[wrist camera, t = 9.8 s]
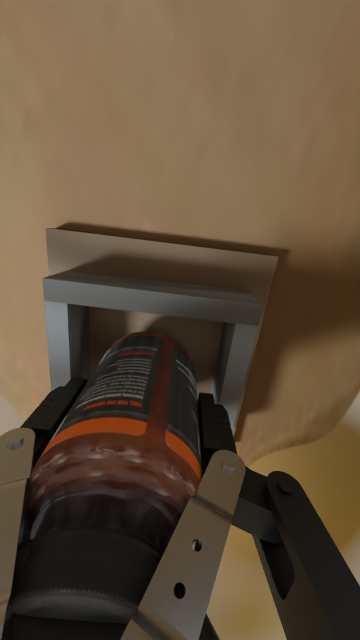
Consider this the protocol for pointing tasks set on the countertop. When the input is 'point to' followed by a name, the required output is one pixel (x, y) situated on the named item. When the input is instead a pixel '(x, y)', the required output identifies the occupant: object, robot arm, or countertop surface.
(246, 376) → the socket board
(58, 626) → the robot arm
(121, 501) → the supplement bottle
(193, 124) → the countertop surface
